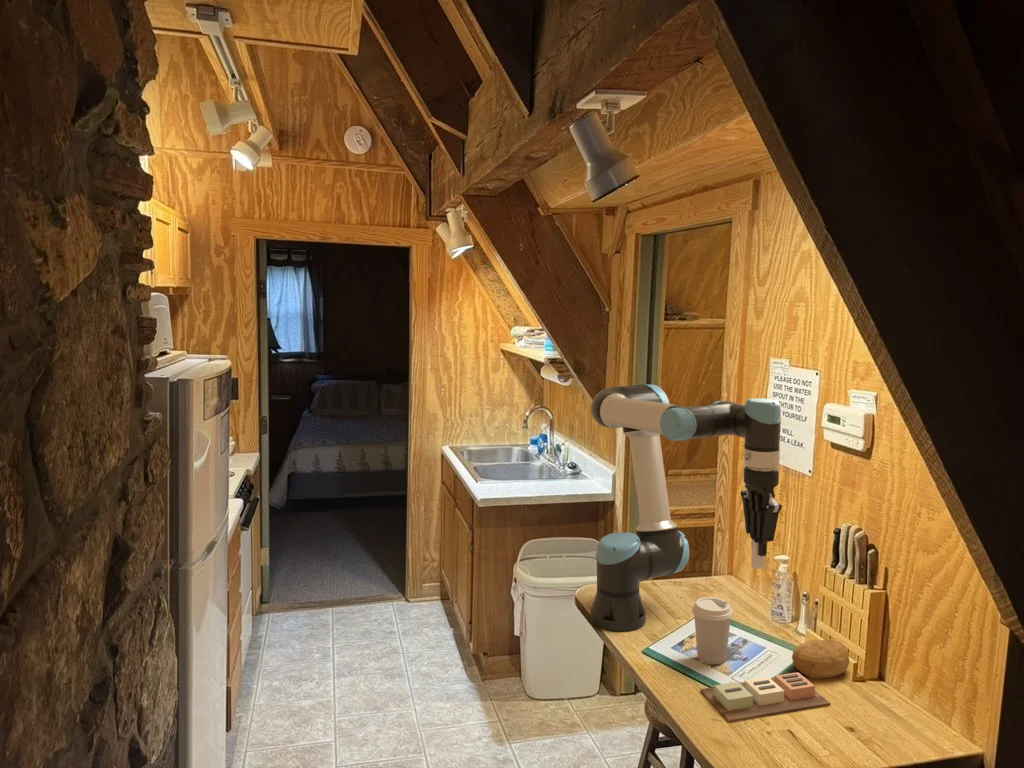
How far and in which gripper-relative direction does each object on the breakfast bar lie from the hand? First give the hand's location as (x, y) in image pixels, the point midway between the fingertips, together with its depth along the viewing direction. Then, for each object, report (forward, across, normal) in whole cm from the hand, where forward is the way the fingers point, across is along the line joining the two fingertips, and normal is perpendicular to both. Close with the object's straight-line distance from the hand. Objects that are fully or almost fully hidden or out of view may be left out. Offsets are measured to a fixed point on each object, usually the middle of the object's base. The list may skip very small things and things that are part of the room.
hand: (758, 567), depth 163 cm
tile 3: (+26, +11, +2) cm, 28 cm away
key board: (+26, +11, -5) cm, 29 cm away
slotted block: (+26, +11, -12) cm, 31 cm away
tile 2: (+26, +11, -5) cm, 29 cm away
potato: (+27, +4, +14) cm, 30 cm away
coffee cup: (+27, -8, -7) cm, 29 cm away
